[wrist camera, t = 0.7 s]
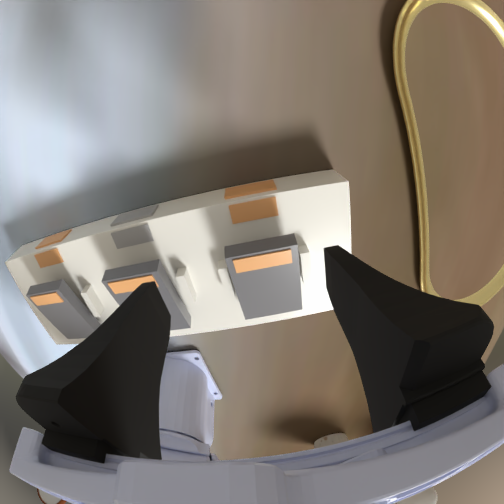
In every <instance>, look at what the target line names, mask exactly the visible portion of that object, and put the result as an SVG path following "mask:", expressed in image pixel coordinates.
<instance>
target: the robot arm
mask: <svg viewBox="0 0 504 504" xmlns="http://www.w3.org/2000/svg"><path fill="white" fill-rule="evenodd" d="M324 261H325V276H326V289H327V292H328V295H329V298H330V301H331V304H332V307H333V309H334V311H335V314H336V316H337V318H338V320H339V322H340V324H341V327H342V329H343V331H344V333H345V335H346V337H347V340H348V342H349V344H350V346H351V349H352V351H353V354H354V356H355V360H356V363H357V366H358V369H359V373H360V376H361V380H362V383H363V387H364V391H365V395H366V399H367V403H368V407H369V412H370V416H371V421H372V427H373V432H374V433H373V434H370V435H366V436H363V437H360V438H356V439H353V440H349V441H345V442H341V443H338V444H333V445H329V446H325V447H320V448H316V449H311V450H306V451H300V452H295V453H289V454H282V455H275V456H267V457H259V458H249V459H236V460H219V459H218V457H217V456H216V455H215V454H214V453H210V446H211V444H212V442H213V435H214V400H217V399H221V398H222V394H221V392H220V390H219V388H218V386H217V385H216V383H215V381H214V379H213V377H212V375H211V373H210V371H209V369H208V367H207V365H206V363H205V361H204V359H203V357H202V355H201V353H200V352H199V351H197V350H190V351H180V352H170V353H166V352H167V347H168V342H169V337H170V327H171V315H170V313H169V311H168V308H167V306H166V304H165V302H164V300H163V298H162V296H161V294H160V292H159V290H158V287H157V285H156V283H155V281H151V282H146V283H142V284H141V285H140V286H138V287H137V288H136V289H135V290H134V291H133V292H132V293H131V294H130V295H129V296H128V297H127V299H126V300H125V301H124V302H123V303H122V304H121V305H120V306H119V307H118V308H117V309H116V310H115V311H114V312H113V313H112V314H111V315H110V316H109V317H108V318H107V319H106V320H105V321H104V322H103V323H102V324H101V325H100V326H99V327H98V328H97V329H96V330H95V331H94V332H93V333H92V334H91V335H89V336H88V337H87V338H86V339H85V340H84V341H82V342H81V343H80V344H78V345H77V346H76V347H74V348H73V349H72V350H70V351H69V352H68V353H66V354H65V355H63V356H62V357H60V358H59V359H57V360H55V361H54V362H52V363H50V364H49V365H47V366H45V367H43V368H41V369H39V370H37V371H35V372H33V373H31V374H29V375H27V376H25V378H24V380H23V382H22V384H21V386H20V388H19V390H18V393H17V395H16V400H17V402H18V404H19V406H20V407H21V408H22V409H23V410H24V411H25V412H26V413H27V414H28V415H29V416H30V417H32V418H33V419H34V420H35V421H36V422H38V423H39V424H40V425H41V426H42V427H44V428H45V429H46V430H45V434H42V433H40V432H38V431H35V430H32V429H28V428H25V427H24V428H22V431H21V434H20V437H19V440H18V443H17V446H16V449H15V453H14V456H13V459H12V463H11V467H10V473H12V474H14V475H15V476H17V477H19V478H20V479H22V480H24V481H25V482H27V483H29V484H31V485H33V486H35V487H36V488H38V489H40V490H42V491H44V492H46V493H48V494H50V495H53V496H55V497H57V498H60V499H62V500H65V501H68V502H70V503H73V504H393V503H396V502H398V501H401V500H403V499H406V498H408V497H410V496H413V495H415V494H417V493H420V492H422V491H424V490H426V489H428V488H430V487H432V486H434V485H436V484H438V483H440V482H442V481H444V480H446V479H448V478H449V477H451V476H453V475H455V474H457V473H459V472H460V471H462V470H464V469H465V468H467V467H469V466H470V465H472V464H473V463H475V462H477V461H478V460H480V459H481V458H483V457H484V456H486V455H487V454H489V453H490V452H492V451H493V450H495V449H496V448H497V447H499V446H500V445H502V444H503V443H504V364H502V365H500V366H499V367H497V368H496V369H494V370H493V371H491V372H490V373H489V374H488V375H487V376H485V374H484V373H483V371H482V370H483V369H484V368H485V364H484V363H483V361H482V360H481V357H482V355H483V354H484V352H485V350H486V348H487V346H488V344H489V342H490V340H491V338H492V335H493V329H494V325H493V322H492V320H491V319H490V318H489V317H488V315H487V314H486V313H485V312H484V310H483V309H482V308H481V307H480V306H479V305H477V304H471V303H465V302H459V301H454V300H449V299H445V298H441V297H438V296H434V295H431V294H428V293H425V292H422V291H420V290H417V289H414V288H412V287H409V286H407V285H405V284H402V283H400V282H398V281H396V280H394V279H392V278H390V277H388V276H386V275H384V274H383V273H381V272H379V271H377V270H375V269H374V268H372V267H371V266H369V265H367V264H366V263H364V262H363V261H361V260H360V259H358V258H357V257H355V256H354V255H352V254H351V253H349V252H348V251H346V250H345V249H343V248H342V247H340V246H339V245H335V246H330V247H325V248H324Z"/></svg>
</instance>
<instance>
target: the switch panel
mask: <svg viewBox="0 0 504 504" xmlns="http://www.w3.org/2000/svg"><path fill="white" fill-rule="evenodd" d="M292 233H294V235H295V238H296V241H297V244H298V254H299V266H300V280H301V295H302V310H297V311H292V312H286V313H281V314H276V315H270V316H265V317H259V318H253V319H247V320H245V317H244V314H243V311H242V308H241V306H240V303H239V300H238V297H237V294H236V291H235V288H234V285H233V282H232V279H231V276H230V273H229V270H228V267H227V264H226V261H225V251H224V246H229V245H234V244H239V243H245V242H250V241H255V240H260V239H266V238H271V237H276V236H282V235H287V234H292ZM335 245H339V246H340V247H342V248H343V249H345V250H346V251H348V252H349V253H351V217H350V195H349V181H348V180H346V179H345V178H344V177H343V176H341V175H340V174H339V173H338V172H336V171H335V170H334V169H332V170H325V171H318V172H311V173H305V174H299V175H293V176H287V177H281V178H275V179H270V180H264V181H259V182H253V183H248V184H243V185H238V186H233V187H228V188H224V189H219V190H214V191H210V192H205V193H201V194H196V195H192V196H188V197H183V198H179V199H175V200H171V201H167V202H163V203H159V204H155V205H151V206H147V207H143V208H140V209H136V210H132V211H129V212H125V213H121V214H118V215H114V216H111V217H107V218H104V219H101V220H97V221H94V222H91V223H87V224H84V225H81V226H78V227H75V228H72V229H68V230H65V231H62V232H59V233H56V234H53V235H50V236H47V237H45V238H42V239H39V240H36V241H33V242H30V243H28V244H25V245H22V246H21V247H20V248H19V249H18V250H17V251H16V252H15V253H14V254H13V255H12V256H11V257H10V258H9V259H8V260H7V261H6V262H5V264H6V266H7V268H8V269H9V271H10V273H11V275H12V277H13V279H14V280H15V282H16V284H17V286H18V287H19V289H20V291H21V292H22V294H23V296H24V297H25V299H26V301H27V302H28V304H29V305H30V307H31V309H32V310H33V312H34V313H35V315H36V316H37V318H38V319H39V321H40V322H41V324H42V325H43V326H44V328H45V329H46V331H47V332H48V333H49V335H50V336H51V338H52V339H53V340H54V342H55V343H56V344H80V343H81V342H82V341H84V340H85V339H86V338H80V339H67V338H66V337H65V336H64V335H63V334H62V333H61V332H60V331H59V330H58V329H57V328H56V327H55V326H54V325H53V324H52V323H51V322H50V321H49V320H48V319H47V318H46V317H45V316H44V315H43V314H42V313H41V312H40V311H39V310H38V308H37V307H36V306H35V305H34V304H33V303H32V302H31V301H30V300H29V298H28V297H27V296H26V294H27V292H28V290H29V288H30V286H32V285H37V284H42V283H46V282H51V281H56V280H60V279H63V280H64V281H65V282H66V284H67V285H68V286H69V287H70V289H71V290H72V291H73V292H74V294H75V295H76V296H77V297H78V298H79V300H80V301H81V302H82V303H83V304H84V306H85V307H86V308H87V309H88V310H89V311H90V313H91V314H92V315H93V316H94V317H95V318H96V319H97V320H98V322H99V323H100V324H102V323H103V322H104V321H105V320H106V319H107V318H108V317H109V316H110V315H111V314H112V313H113V312H114V311H115V310H116V309H117V308H118V307H119V304H118V303H117V302H116V301H115V299H114V298H113V297H112V295H111V294H110V293H109V291H108V290H107V289H106V287H105V286H104V284H103V283H102V282H101V281H102V278H103V275H104V273H105V270H108V269H113V268H118V267H123V266H128V265H133V264H138V263H143V262H148V261H153V260H158V259H160V261H161V263H162V265H163V267H164V269H165V270H166V272H167V274H168V276H169V278H170V280H171V282H172V283H173V285H174V287H175V289H176V291H177V293H178V294H179V296H180V298H181V300H182V301H183V303H184V305H185V307H186V309H187V310H188V312H189V314H190V315H191V328H186V329H179V330H170V337H171V336H179V335H188V334H196V333H203V332H210V331H218V330H224V329H231V328H237V327H244V326H250V325H256V324H262V323H267V322H273V321H278V320H284V319H289V318H294V317H299V316H304V315H309V314H314V313H319V312H323V311H328V310H332V309H333V307H332V304H331V301H330V298H329V295H328V292H327V289H326V276H325V261H324V248H325V247H330V246H335Z"/></svg>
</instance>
